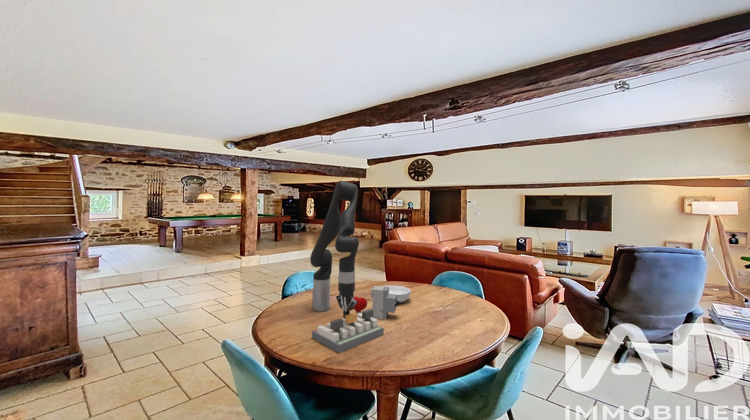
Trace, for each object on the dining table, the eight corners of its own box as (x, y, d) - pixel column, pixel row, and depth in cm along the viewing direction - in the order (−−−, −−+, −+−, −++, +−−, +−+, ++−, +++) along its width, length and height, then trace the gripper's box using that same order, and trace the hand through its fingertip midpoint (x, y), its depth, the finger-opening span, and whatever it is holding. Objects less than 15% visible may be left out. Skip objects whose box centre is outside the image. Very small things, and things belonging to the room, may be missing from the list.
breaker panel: (311, 338, 144) (312, 315, 143) (356, 322, 162) (356, 302, 161) (338, 353, 130) (339, 327, 130) (383, 334, 148) (383, 312, 148)
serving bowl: (416, 299, 201) (416, 288, 201) (400, 308, 183) (400, 296, 183) (387, 293, 212) (387, 283, 212) (369, 302, 195) (369, 290, 194)
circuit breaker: (397, 320, 166) (398, 291, 165) (370, 318, 169) (370, 289, 168) (399, 315, 173) (400, 287, 173) (373, 313, 176) (373, 285, 175)
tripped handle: (345, 331, 144) (345, 315, 143) (353, 327, 147) (353, 312, 147) (348, 332, 142) (348, 316, 142) (357, 329, 145) (357, 314, 145)
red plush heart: (369, 315, 173) (369, 296, 172) (364, 319, 166) (364, 300, 166) (352, 312, 176) (353, 294, 175) (347, 317, 169) (347, 298, 169)
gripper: (362, 282, 144) (362, 320, 145) (343, 276, 153) (343, 312, 154) (349, 285, 139) (349, 325, 139) (331, 279, 148) (330, 316, 149)
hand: (346, 318), depth 147 cm, fingers closed
